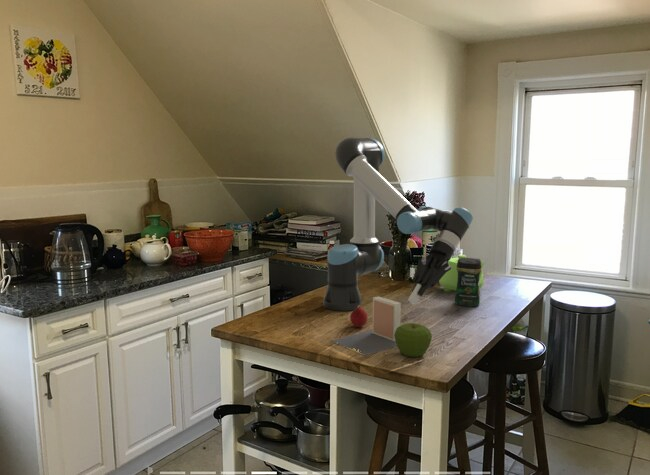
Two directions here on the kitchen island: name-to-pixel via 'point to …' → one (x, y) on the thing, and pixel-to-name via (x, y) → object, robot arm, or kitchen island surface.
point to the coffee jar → (468, 282)
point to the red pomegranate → (358, 317)
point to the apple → (413, 339)
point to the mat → (366, 342)
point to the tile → (386, 317)
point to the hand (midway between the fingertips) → (411, 302)
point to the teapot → (455, 275)
